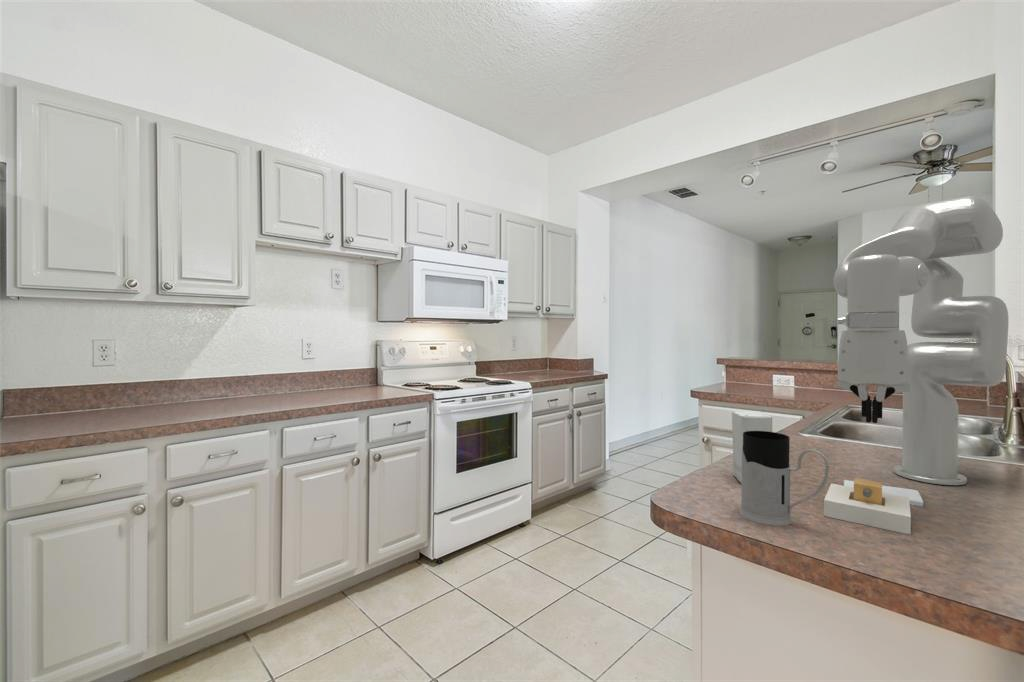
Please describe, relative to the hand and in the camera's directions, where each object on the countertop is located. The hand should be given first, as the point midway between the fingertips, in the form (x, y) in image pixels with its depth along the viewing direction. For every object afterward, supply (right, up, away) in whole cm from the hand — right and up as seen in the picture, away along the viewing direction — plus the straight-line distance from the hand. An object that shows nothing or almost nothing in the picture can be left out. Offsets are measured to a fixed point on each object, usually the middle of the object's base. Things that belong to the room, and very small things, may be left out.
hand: (871, 421), depth 84 cm
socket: (-1, -17, 0) cm, 17 cm away
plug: (-1, -17, 0) cm, 17 cm away
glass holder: (-18, -18, -2) cm, 26 cm away
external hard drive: (+10, -18, +11) cm, 23 cm away
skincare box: (-12, -17, +19) cm, 28 cm away
